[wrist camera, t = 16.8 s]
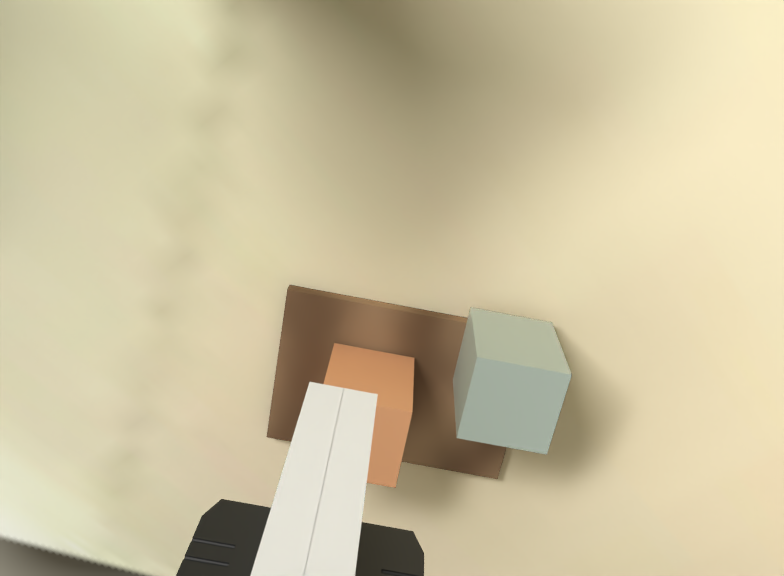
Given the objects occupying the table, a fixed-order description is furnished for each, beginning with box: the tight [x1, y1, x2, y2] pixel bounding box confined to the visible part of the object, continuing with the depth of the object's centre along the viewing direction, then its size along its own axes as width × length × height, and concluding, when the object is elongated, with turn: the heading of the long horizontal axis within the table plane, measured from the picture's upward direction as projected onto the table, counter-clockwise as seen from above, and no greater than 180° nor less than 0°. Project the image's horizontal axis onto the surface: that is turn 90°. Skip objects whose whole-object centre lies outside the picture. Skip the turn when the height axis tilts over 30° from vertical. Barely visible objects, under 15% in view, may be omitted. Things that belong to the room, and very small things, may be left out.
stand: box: [267, 285, 506, 479], centre depth 49 cm, size 16×11×1 cm
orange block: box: [324, 343, 414, 488], centre depth 45 cm, size 5×5×7 cm
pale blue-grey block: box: [453, 307, 572, 454], centre depth 44 cm, size 5×5×7 cm
